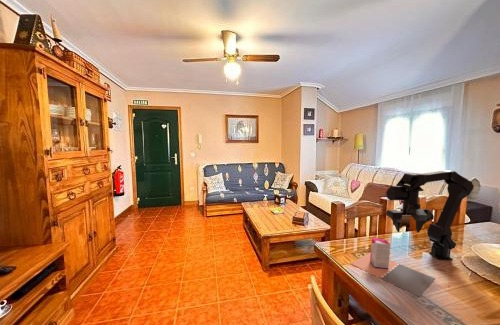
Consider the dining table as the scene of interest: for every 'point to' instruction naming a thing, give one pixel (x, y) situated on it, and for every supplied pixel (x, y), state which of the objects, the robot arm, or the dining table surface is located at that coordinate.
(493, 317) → the dining table surface
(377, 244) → the supplement box
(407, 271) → the ticket mat
